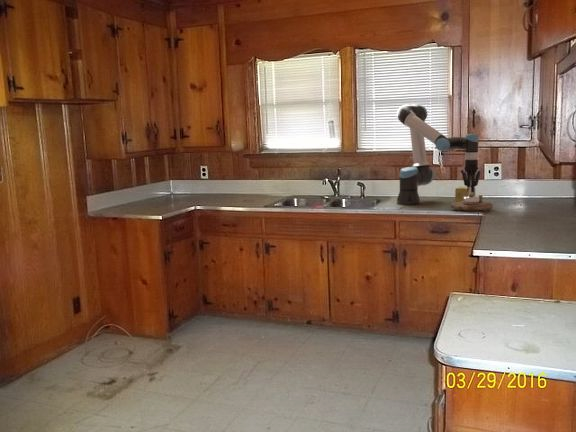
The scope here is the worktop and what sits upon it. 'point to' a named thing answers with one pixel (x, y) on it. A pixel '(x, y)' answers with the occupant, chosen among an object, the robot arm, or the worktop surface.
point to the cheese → (461, 193)
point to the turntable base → (471, 210)
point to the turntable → (476, 207)
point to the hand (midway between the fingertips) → (470, 197)
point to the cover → (471, 200)
